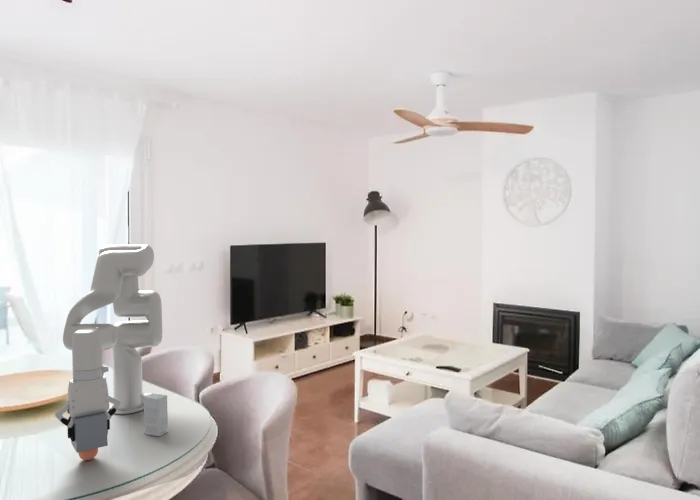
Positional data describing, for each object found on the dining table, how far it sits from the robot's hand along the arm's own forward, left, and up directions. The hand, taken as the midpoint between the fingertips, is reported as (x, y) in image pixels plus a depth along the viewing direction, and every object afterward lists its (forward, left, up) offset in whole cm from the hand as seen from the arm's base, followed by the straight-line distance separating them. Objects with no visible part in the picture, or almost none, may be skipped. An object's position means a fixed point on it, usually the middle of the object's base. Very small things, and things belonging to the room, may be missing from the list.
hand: (89, 435), depth 145 cm
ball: (0, -2, -5) cm, 5 cm away
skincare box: (-21, -9, -8) cm, 24 cm away
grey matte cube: (0, 0, -2) cm, 2 cm away
